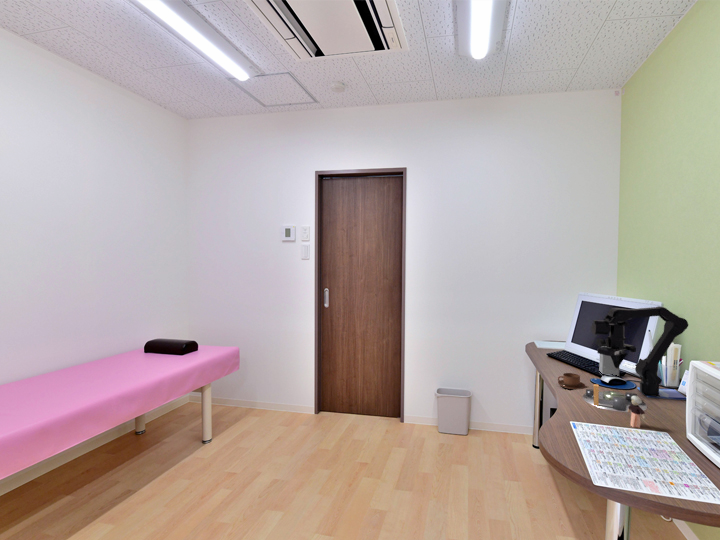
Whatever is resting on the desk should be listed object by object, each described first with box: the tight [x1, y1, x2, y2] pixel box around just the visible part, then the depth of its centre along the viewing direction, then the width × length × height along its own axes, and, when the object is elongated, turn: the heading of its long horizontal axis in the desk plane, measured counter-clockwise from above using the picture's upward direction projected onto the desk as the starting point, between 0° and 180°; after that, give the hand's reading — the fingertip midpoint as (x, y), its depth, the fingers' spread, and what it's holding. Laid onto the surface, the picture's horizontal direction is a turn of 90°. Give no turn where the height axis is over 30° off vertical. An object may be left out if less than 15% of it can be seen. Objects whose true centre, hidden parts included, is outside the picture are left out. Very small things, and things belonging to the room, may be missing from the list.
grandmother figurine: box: [627, 395, 647, 429], centre depth 150 cm, size 8×4×13 cm, turn 21°
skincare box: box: [598, 347, 620, 377], centre depth 215 cm, size 8×7×16 cm
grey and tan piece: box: [593, 383, 627, 410], centre depth 168 cm, size 12×5×8 cm, turn 58°
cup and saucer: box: [557, 372, 586, 390], centre depth 198 cm, size 12×12×6 cm
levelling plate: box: [582, 388, 648, 413], centre depth 175 cm, size 24×24×5 cm
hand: (616, 367), depth 188 cm, fingers closed
